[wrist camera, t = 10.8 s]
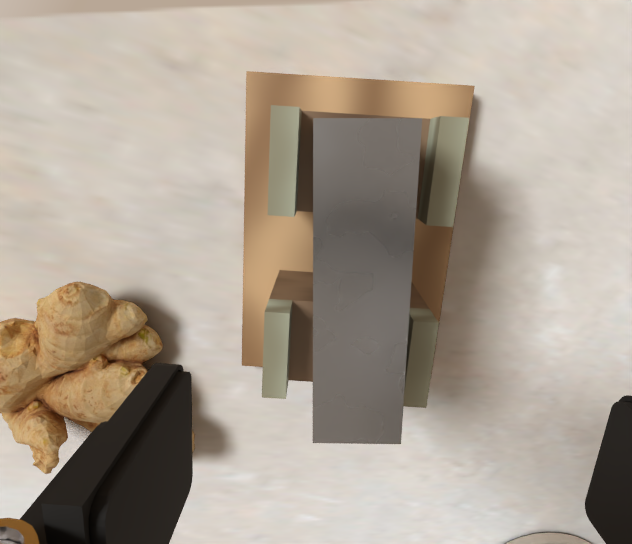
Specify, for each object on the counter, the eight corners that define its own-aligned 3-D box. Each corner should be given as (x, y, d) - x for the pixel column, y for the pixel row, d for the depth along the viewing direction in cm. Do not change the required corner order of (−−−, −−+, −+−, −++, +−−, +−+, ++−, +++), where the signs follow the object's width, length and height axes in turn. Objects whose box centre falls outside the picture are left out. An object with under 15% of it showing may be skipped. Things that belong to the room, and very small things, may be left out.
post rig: (466, 89, 28) (535, 60, 19) (426, 367, 34) (464, 449, 25) (250, 75, 28) (215, 40, 19) (245, 356, 34) (216, 433, 25)
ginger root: (-54, 266, 31) (-138, 309, 23) (180, 250, 34) (172, 284, 27) (-1, 449, 36) (-57, 533, 28) (199, 420, 39) (197, 488, 31)
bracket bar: (395, 125, 22) (422, 118, 16) (383, 377, 26) (400, 444, 20) (315, 125, 22) (313, 118, 16) (315, 376, 26) (312, 442, 20)
